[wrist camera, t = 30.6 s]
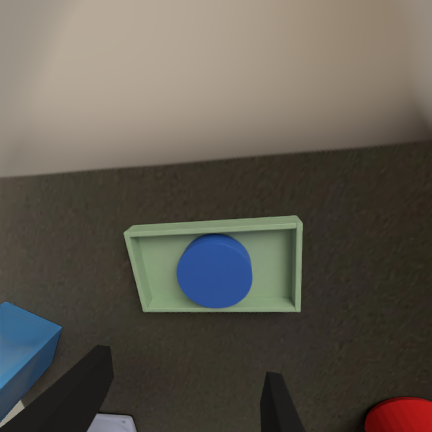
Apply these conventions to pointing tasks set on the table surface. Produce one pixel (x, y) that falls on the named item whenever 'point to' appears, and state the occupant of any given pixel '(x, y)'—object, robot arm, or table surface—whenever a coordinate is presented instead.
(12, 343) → the perfume bottle
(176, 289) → the tray
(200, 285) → the lid
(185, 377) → the table surface
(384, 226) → the table surface
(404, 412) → the soda can
